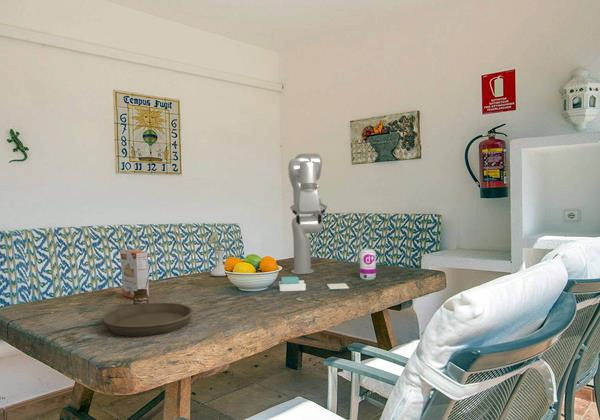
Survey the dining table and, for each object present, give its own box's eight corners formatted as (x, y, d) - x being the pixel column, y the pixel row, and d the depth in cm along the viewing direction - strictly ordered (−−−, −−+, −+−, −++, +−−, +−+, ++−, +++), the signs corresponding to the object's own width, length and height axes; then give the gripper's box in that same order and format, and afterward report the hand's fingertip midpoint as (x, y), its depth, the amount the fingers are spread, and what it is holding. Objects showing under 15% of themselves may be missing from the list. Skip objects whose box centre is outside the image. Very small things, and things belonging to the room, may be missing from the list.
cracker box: (121, 296, 219) (120, 250, 218) (134, 293, 224) (132, 249, 223) (137, 300, 210) (135, 252, 209) (149, 298, 214) (148, 251, 213)
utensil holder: (132, 306, 200) (131, 277, 199) (148, 304, 202) (147, 276, 202) (133, 309, 195) (132, 279, 194) (150, 307, 197) (149, 278, 196)
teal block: (281, 288, 231) (281, 277, 231) (298, 287, 232) (297, 276, 232) (281, 290, 226) (281, 278, 226) (298, 290, 227) (298, 278, 227)
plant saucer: (193, 334, 160) (193, 321, 160) (94, 342, 154) (93, 328, 154) (193, 311, 191) (193, 300, 191) (111, 317, 184) (110, 305, 184)
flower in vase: (220, 273, 274) (219, 229, 273) (235, 275, 268) (234, 230, 266) (203, 277, 264) (202, 231, 262) (218, 279, 257) (217, 232, 256)
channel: (279, 287, 233) (279, 281, 233) (303, 286, 234) (303, 280, 234) (280, 291, 224) (279, 284, 224) (305, 290, 225) (305, 283, 225)
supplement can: (376, 279, 247) (376, 250, 247) (360, 280, 248) (360, 251, 247) (374, 276, 256) (374, 248, 255) (359, 277, 256) (358, 248, 255)
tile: (327, 285, 236) (327, 283, 236) (345, 284, 237) (345, 283, 237) (329, 289, 227) (329, 287, 227) (348, 288, 228) (348, 287, 228)
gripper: (325, 187, 230) (326, 223, 231) (289, 187, 228) (289, 224, 229) (327, 187, 223) (328, 224, 223) (290, 187, 221) (291, 225, 222)
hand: (308, 224), depth 226 cm, fingers open, 9 cm apart
